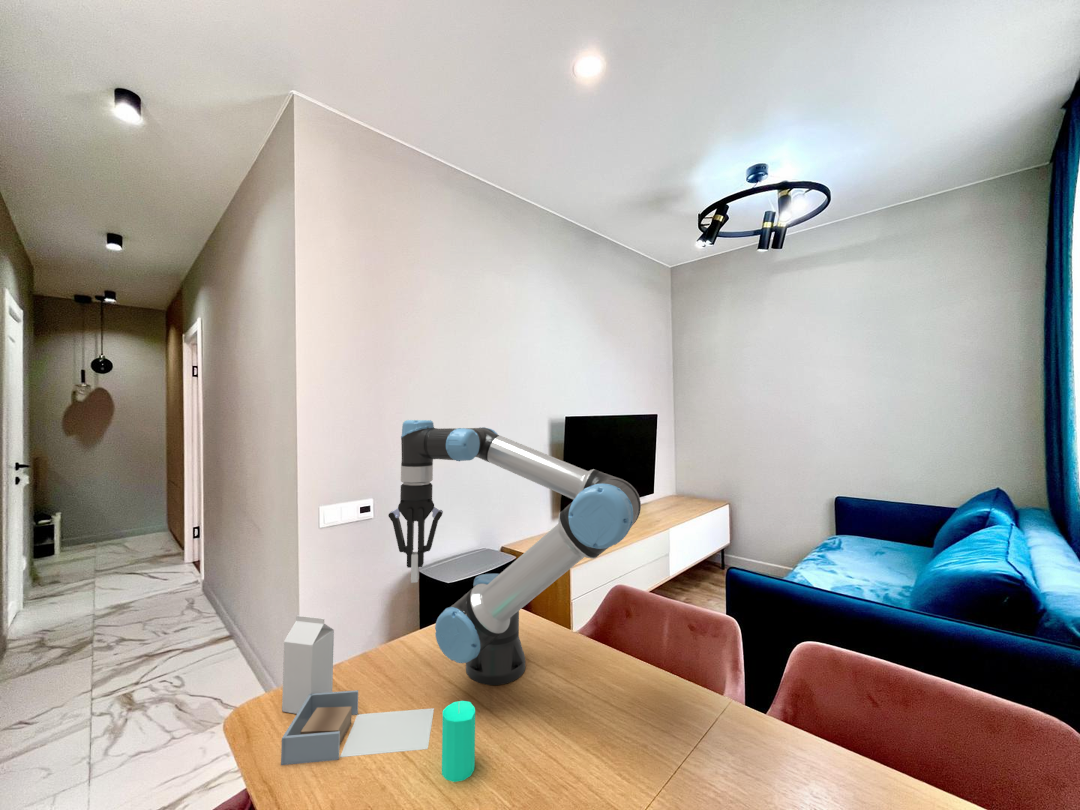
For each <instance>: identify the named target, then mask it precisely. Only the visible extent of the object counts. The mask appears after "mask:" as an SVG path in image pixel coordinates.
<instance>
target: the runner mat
mask: <svg viewBox="0 0 1080 810" xmlns="http://www.w3.org/2000/svg"><path fill="white" fill-rule="evenodd" d="M434 710H435V708H433V707H432V708H422V709H408V710H395V711H383V712H371V713H370V712H369V713H361V714H357V715H356V717H355V719H354V722H353V725H352V727H351V729H350V731H349V735H348V737H347V739H346V740H345V744H344V745H343V748H342V751H341V753H340V754H339V758H346V757H358V756H360V757H361V756H368V755H369V756H370V755H379V754H389V753H401V752H411V751H412V752H413V751H421V750H428V749H429V743H430V738H431V737H430V736H431V733H432V732H431V731H432V723H433V716H434V712H435V711H434Z"/></svg>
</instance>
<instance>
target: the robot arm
mask: <svg viewBox="0 0 1080 810" xmlns="http://www.w3.org/2000/svg"><path fill="white" fill-rule="evenodd" d="M400 440H401V441H400V442H401V444H400V445H401V462H400V463H401V464H400V482H401V485H400V496H399V497H400V500H399V504H398V506H397V508H396V509H394V510H392V511H390V512H389V513H388V518H389V519H390V521H391V523H392V525H393V531H394V534H395V535H394V536H395V539H396V543H397V546H398V547H397V548H398V551H399V553H404V554H405V555H406V568H409V569H410V568H411V569H410V584H411V583H414V584H415V583H418V581H419V579H420V568H423V566H424V563H425V562H424V561H425V555H424V554H425V553H427V552H430V551H431V549H432V547H433V546H432V545H433V542H434V539H435V534H436V532H437V526H438V523H439V520H440V519H441V518H442V516H443V513H444V511H443V509H438V508H436V507H435V503H434V501H433V483H431V482H432V481H433V479H434V478H433V476H434V475H433V471H434V470H433V469H434V467H433V465H434V460H444V461H445V460H447V461H456V462H463V461H473V460H474V459H475V458H478V459H480V460H483V461H484V462H488V463H491V464H492V465H495V466H497V467H499V468H500V469H501V468H502V469H504V470H506V471H509V472H510V473H513V474H515V475H517V476H520V477H522V478H523V479H526V480H528V481H530V482H533V483H535V484H538V485H539V486H542V487H545V488H546V489H549V490H551V491H554V493H555V492H556V493H558V494H560V495H563V496H565V497H566V498H568V499H571V500H572V502H570V503H569V504H568V505H567V506H566V507H564V509H562V510H561V511H560V512H559V514H558V524H556V525H555V526H554V527H553V528H552V529H550V530H549V531H548V532H547V533H546V534H545V535H542V537H541V538H540V539H539V540H537V542H535V543H534V544H533V545H532V546H530V547H529V548H528V549H527V550H526V551H525V552H523V554H521V555H520V556H519V557H518V558H517V559H515V560H514V561H513V562H512V563H511V564H509V565H508V566H507V567H506V568H505V569H503V571H501V572H500V573H485V574H484V573H483V574H479V575H477V576H475V578H474V579H473V584H472V585H473V588H471V589H470V590H469V591H468V592H467V593H465V594H463V596H462V597H461V598H460V599H458V600H457V601H456V602H455V603H454V604H452V605H451V606H449V607H446V608H445V609H444V610H443V611H442V612H441V613H440V614H439V616H438V617H437V619H436V621H435V626H434V630H435V632H434V634H435V640H436V642H437V646H438V647H439V649H440V651H441V652H442V653H443V654H444V656H445V657H446V658H448V659H449V660H450V661H454V662H456V663H457V664H465V672H466V675H467V676H468V678H469V679H471V680H473V681H474V682H476V683H479V684H482V685H488V686H499V685H500V686H501V685H505V684H508V683H512V682H514V681H516V680H518V679H519V678H520V677H521V676H522V675H523V674H524V672H525V669H526V656H525V653H524V649H523V646H522V643H521V639H520V635H519V634H520V630H519V629H520V611H521V609H522V608H524V607H526V605H528V604H529V603H530V602H531V601H533V599H535V598H537V596H539V595H540V594H541V593H542V592H544V591H545V590H546V589H547V588H549V587H550V586H551V585H552V584H554V582H556V581H557V580H558V579H559V578H560V577H562V576H563V575H565V573H567V572H568V571H569V570H570V569H572V568H573V567H574V566H576V565H577V564H578V563H579V562H580V561H582V560H583V559H585V558H588V559H592V560H595V559H596V558H598V557H599V556H601V554H602V553H604V552H605V551H606V550H608V549H609V548H610V547H613V546H616V545H617V544H619V543H620V542H622V540H624V538H626V536H627V535H628V533H629V532H630V530H631V528H632V527H633V526H634V525H635V523H636V522H637V521H638V519H639V518H640V517H639V516H640V515H641V511H642V510H641V509H642V508H641V505H642V504H641V499H640V495H639V493H638V491H637V489H636V488H635V487H634V486H633V485H632V484H631V483H630V482H628V481H626V480H624V479H623V478H620V477H617V476H613V475H611V474H608V473H604V472H603V471H599V470H597V469H596V468H595V469H594V468H593V469H590V470H586V469H584V468H581V467H578V466H576V465H574V464H571V463H569V462H566V461H564V460H561V459H558V458H556V457H554V456H553V455H550V454H549V455H548V454H547V453H544V452H541V451H539V450H537V449H534V448H531V447H529V446H526V445H525V444H522V443H519V442H517V441H514V440H512V439H511V438H507V437H504V436H502V435H499V434H498V433H497V431H495V430H494V429H492V428H489V427H488V428H487V427H485V426H484V427H469V428H468V427H463V428H461V427H459V428H458V427H457V428H456V427H455V428H452V427H451V428H445V427H444V428H435V426H434V422H433V421H432V420H431V419H430V420H427V419H425V420H424V419H422V420H421V419H420V420H419V419H417V420H415V419H414V420H413V419H407V420H404V422H402V429H401V436H400ZM431 513H432V515H431V516H432V518H433V520H432V523H431V526H430V530H429V534H428V537H427V541H426V544H425V523H426V519H427V518H428V516H429V515H430V514H431ZM401 515H402V517H403V518H404V519H405V521H406V527H407V528H406V541H405V537H404V533H403V529H402V524H401V521H400V517H401ZM415 522H417V551H414V549H415V548H414V535H415V534H414V533H415V532H414V531H415Z"/></svg>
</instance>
